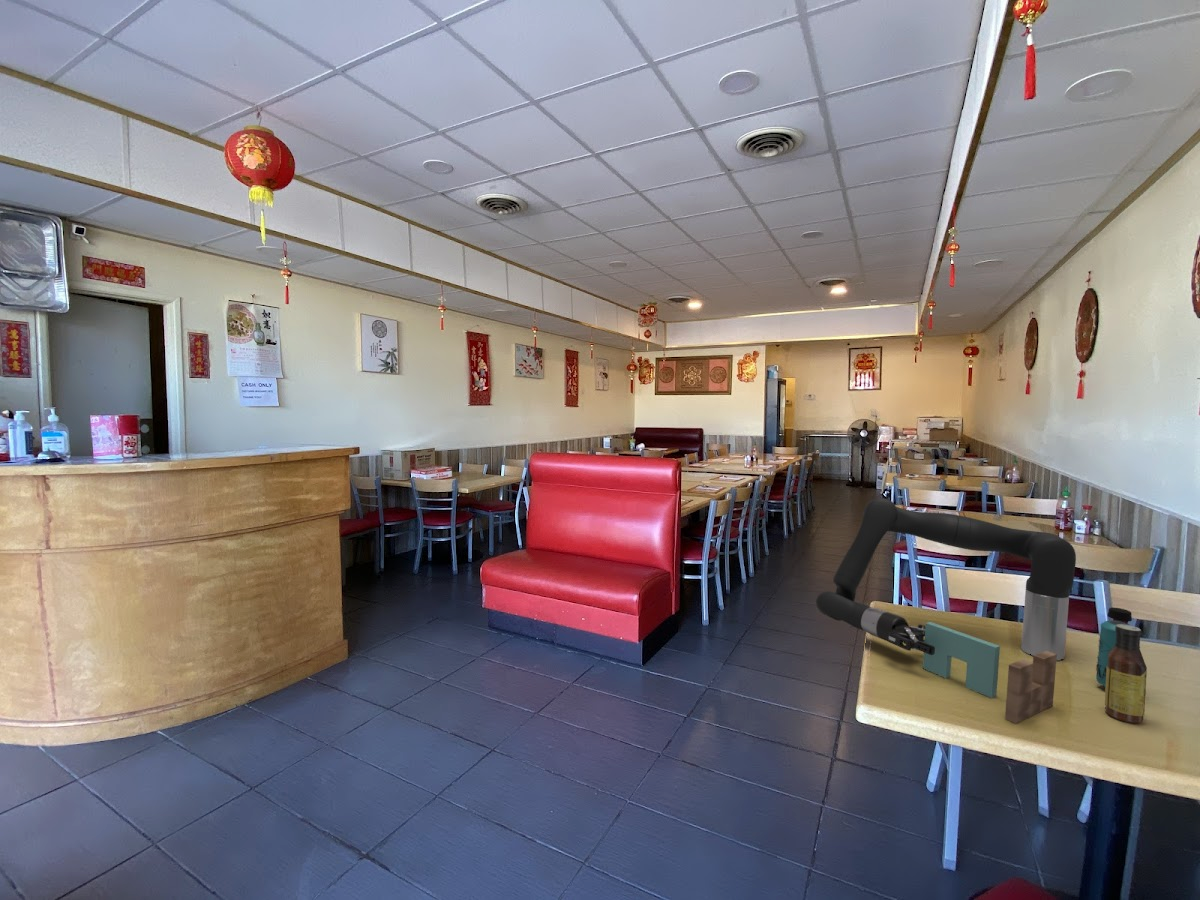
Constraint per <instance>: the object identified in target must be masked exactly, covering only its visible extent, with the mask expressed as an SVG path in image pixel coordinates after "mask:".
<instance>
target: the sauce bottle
mask: <svg viewBox="0 0 1200 900" xmlns="http://www.w3.org/2000/svg"><path fill="white" fill-rule="evenodd" d="M1129 625H1130V624H1129ZM1129 625H1123V624H1117V625H1116V627H1115V631H1116V642H1115V646H1114V648H1113V649H1112V650H1111V651H1110V652H1109V653H1108V663H1107V664H1108V665H1107V669H1106V686H1105V692H1104V693H1105V695H1104V705H1105V707H1104V709H1105V710H1104V711H1105V712H1106V713H1107V714H1108V715H1109V716H1110V717H1113V718H1115V719H1116V720H1119V721H1122V722H1126V723H1131V724H1141V723H1143V721H1144V716H1145V712H1146V710H1145V709H1146V693H1147V692H1146V691H1147V690H1146V688H1147V673H1148V667H1147V665H1146V662H1145V659H1144V656H1143V654H1142V652H1141V646H1140V644H1141V637H1142V630H1141V629H1140V628H1139V627H1136V626H1133V625H1131V626H1129Z"/></svg>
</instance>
